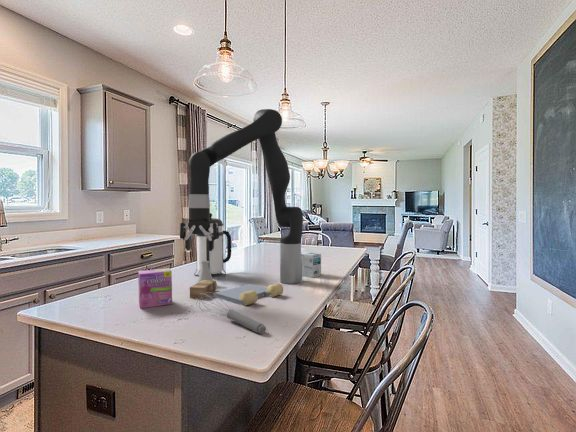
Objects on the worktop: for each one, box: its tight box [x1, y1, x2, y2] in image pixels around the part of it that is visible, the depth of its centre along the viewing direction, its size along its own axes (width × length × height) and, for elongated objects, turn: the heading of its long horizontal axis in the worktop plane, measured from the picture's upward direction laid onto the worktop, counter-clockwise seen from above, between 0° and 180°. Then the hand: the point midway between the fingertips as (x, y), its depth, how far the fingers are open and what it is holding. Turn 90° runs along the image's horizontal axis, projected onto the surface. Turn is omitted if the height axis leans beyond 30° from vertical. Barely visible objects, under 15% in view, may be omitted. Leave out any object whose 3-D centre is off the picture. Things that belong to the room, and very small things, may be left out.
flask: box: [196, 261, 214, 284], centre depth 146 cm, size 7×7×10 cm
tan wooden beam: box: [189, 279, 218, 300], centre depth 132 cm, size 12×6×4 cm, turn 170°
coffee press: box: [194, 212, 232, 277], centre depth 165 cm, size 17×16×30 cm
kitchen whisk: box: [195, 292, 269, 336], centre depth 102 cm, size 6×34×6 cm, turn 46°
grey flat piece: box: [213, 282, 284, 306], centre depth 128 cm, size 18×18×4 cm
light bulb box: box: [301, 251, 322, 278], centre depth 165 cm, size 11×7×11 cm, turn 49°
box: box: [137, 267, 173, 309], centre depth 118 cm, size 10×6×12 cm, turn 118°
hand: (199, 250), depth 127 cm, fingers open, 8 cm apart
